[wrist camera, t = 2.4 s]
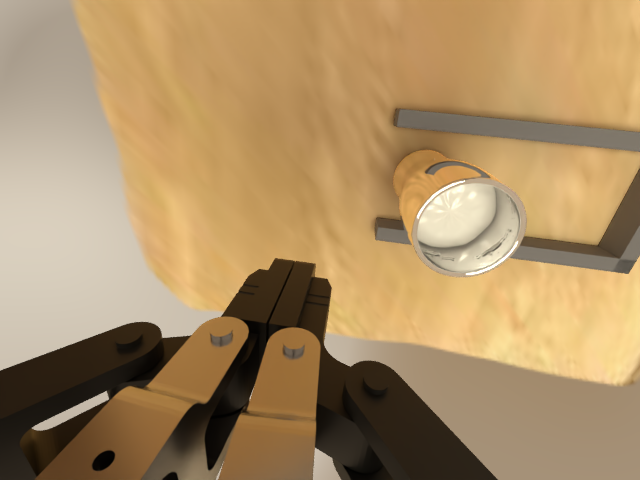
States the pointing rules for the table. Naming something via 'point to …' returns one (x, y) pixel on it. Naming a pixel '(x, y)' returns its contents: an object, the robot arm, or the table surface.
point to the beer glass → (457, 214)
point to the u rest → (636, 208)
